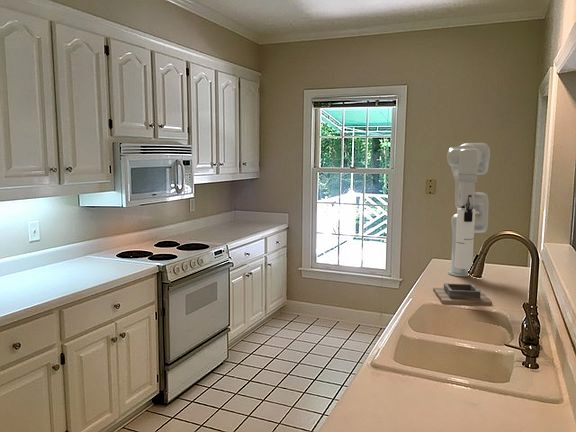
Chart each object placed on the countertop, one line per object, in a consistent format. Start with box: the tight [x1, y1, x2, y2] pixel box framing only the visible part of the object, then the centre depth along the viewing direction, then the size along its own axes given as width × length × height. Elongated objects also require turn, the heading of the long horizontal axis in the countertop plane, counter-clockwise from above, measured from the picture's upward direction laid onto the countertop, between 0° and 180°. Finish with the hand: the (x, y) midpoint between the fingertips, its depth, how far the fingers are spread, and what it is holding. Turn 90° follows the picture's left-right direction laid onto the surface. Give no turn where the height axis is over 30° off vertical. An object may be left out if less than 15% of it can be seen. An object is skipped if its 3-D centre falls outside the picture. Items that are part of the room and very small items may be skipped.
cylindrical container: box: [455, 208, 476, 269], centre depth 211 cm, size 7×7×25 cm
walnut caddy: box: [432, 283, 493, 306], centre depth 214 cm, size 20×20×4 cm
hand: (465, 220), depth 210 cm, fingers closed on cylindrical container, 7 cm apart
